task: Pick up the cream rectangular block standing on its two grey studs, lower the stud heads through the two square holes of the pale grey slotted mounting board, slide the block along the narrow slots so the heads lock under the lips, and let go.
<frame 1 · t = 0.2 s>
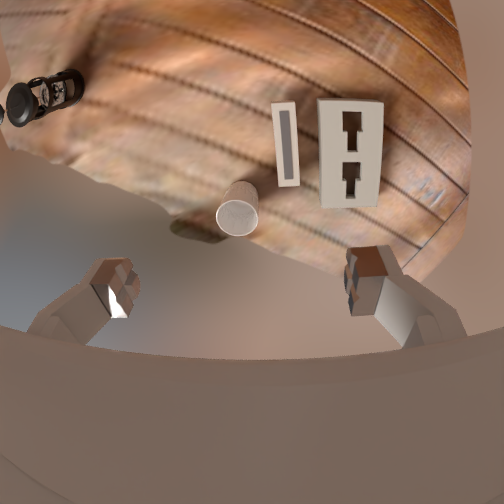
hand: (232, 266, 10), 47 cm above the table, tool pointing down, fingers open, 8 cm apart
french press: (68, 89, 45), on the table
mounting board: (347, 150, 52), on the table
cream rectangular block: (285, 137, 52), on the table
white cup: (242, 194, 60), on the table
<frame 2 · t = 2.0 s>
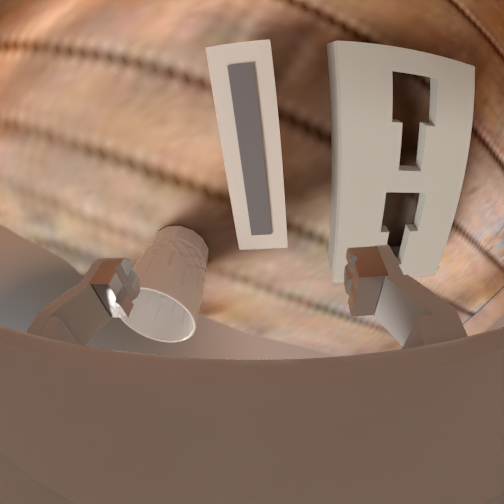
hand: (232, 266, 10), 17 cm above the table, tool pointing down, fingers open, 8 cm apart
mounting board: (391, 163, 23), on the table
cream rectangular block: (256, 134, 23), on the table
white cup: (181, 248, 32), on the table
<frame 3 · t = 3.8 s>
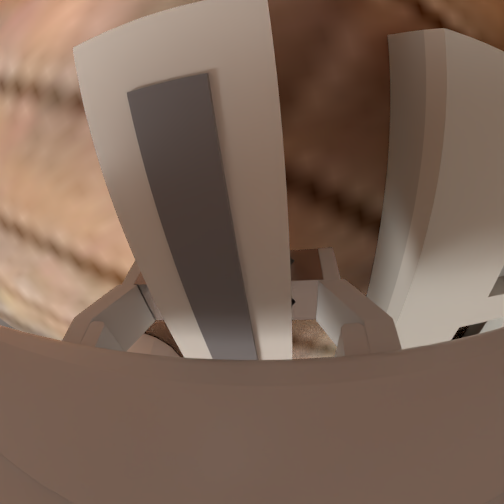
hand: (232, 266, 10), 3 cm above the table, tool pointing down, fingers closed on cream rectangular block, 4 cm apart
mounting board: (462, 256, 13), on the table
cream rectangular block: (242, 217, 13), on the table, touching gripper
white cup: (144, 350, 21), on the table
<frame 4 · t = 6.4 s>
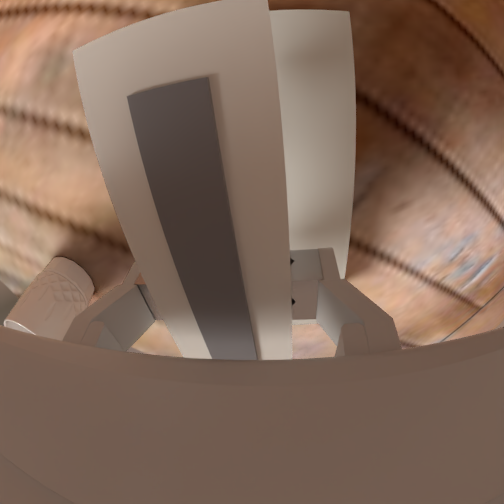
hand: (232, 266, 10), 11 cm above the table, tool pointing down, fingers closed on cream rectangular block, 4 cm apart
mounting board: (254, 180, 20), on the table
cream rectangular block: (242, 219, 13), point 8 cm above the table, touching gripper
white cup: (72, 276, 28), on the table
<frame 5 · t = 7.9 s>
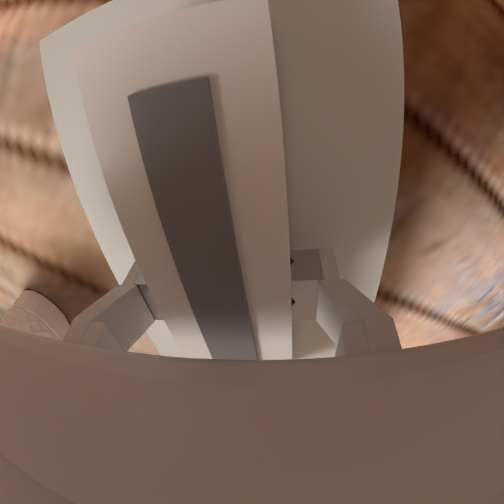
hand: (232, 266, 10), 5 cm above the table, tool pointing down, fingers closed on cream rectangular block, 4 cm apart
mounting board: (246, 216, 15), on the table
cream rectangular block: (242, 219, 13), point 2 cm above the table, touching gripper
white cup: (46, 310, 23), on the table
when the fingers open (5 cm above the table, at t = 9.0 s): cream rectangular block stays where it is, resting on mounting board.
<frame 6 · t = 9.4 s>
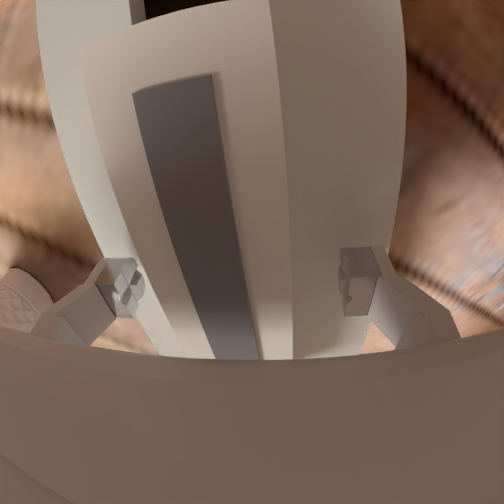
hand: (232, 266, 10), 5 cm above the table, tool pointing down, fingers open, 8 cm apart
mounting board: (240, 164, 13), on the table
cream rectangular block: (243, 216, 13), point 1 cm above the table, touching mounting board
white cup: (31, 291, 21), on the table
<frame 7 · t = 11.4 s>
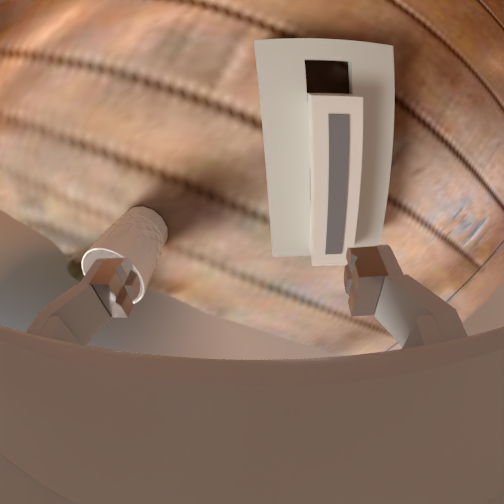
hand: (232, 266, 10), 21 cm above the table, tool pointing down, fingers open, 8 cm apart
mounting board: (324, 145, 27), on the table
cream rectangular block: (326, 167, 27), point 1 cm above the table, touching mounting board
white cup: (145, 227, 35), on the table
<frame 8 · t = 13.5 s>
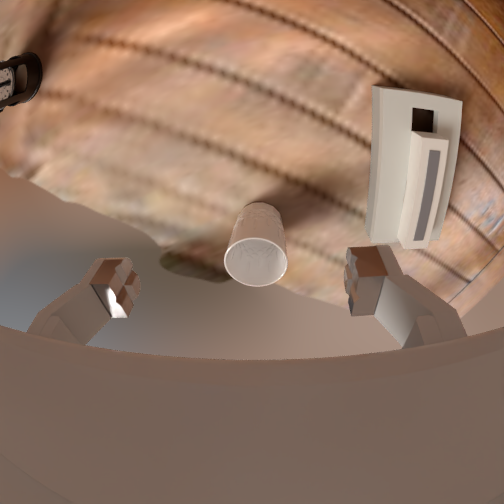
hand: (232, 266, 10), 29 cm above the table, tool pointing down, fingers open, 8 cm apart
french press: (24, 79, 28), on the table
mounting board: (407, 163, 35), on the table
cream rectangular block: (410, 179, 35), point 1 cm above the table, touching mounting board
white cup: (259, 220, 43), on the table
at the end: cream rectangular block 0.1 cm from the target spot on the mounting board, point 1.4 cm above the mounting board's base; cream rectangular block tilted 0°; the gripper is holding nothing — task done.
